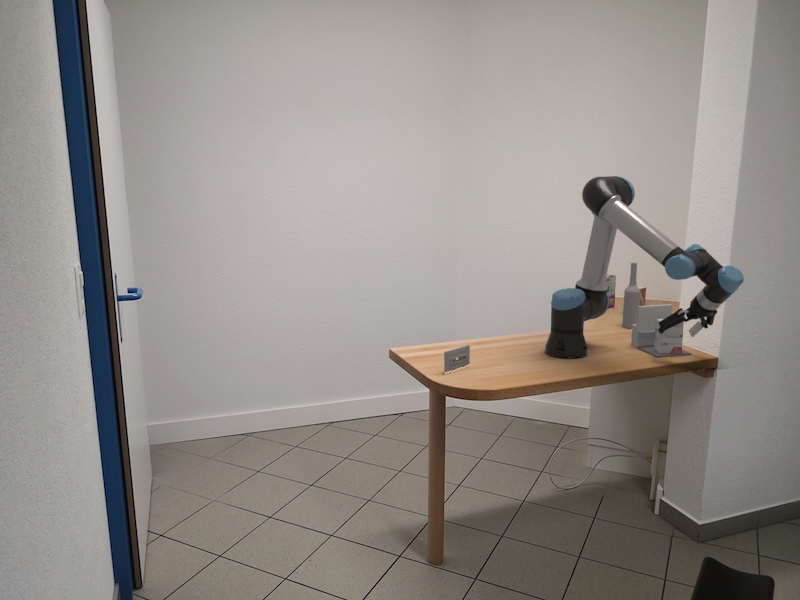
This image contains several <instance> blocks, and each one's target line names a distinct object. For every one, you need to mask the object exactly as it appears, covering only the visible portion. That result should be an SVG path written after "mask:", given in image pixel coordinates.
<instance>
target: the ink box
mask: <svg viewBox="0 0 800 600" xmlns="http://www.w3.org/2000/svg"><path fill="white" fill-rule="evenodd" d="M662 320H663V319H656V323H655V333H656V332H657V331H658V329H659V328H660V325H659V322H660V321H662ZM684 324H685V322H682V323H680V324H678V325H675V326H673V327H671V328H669V331H668V332H667V333H666V334H665V335H664V336H663V337H662V338H661V339H660V340H658V338H657V336H656V334H655V341H654V350H655V351H657V352H658V353H682V349H683V337H684Z"/></svg>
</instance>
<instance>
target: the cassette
mask: <svg viewBox="0 0 800 600" xmlns="http://www.w3.org/2000/svg"><path fill="white" fill-rule="evenodd" d="M470 348H471V347H470V345H468V344H467V345H463V346H461V347H457V348H453V349H449V350H446V351H444V353H443V355H444V356H443V358H444V359H443V360H444V364H443V365H444V368H443V370H444V371H445V372H447V371H450V370H451V371H452V370H455V369H457V368H460V367H464V366H466V365H468V364H470V362H471V361H470V358H471V357H470V355H471V354H470V352H471V350H470ZM457 358H458V359H457Z"/></svg>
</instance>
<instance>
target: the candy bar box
mask: <svg viewBox="0 0 800 600" xmlns="http://www.w3.org/2000/svg"><path fill="white" fill-rule="evenodd" d="M616 277H617V276H616V275H615V274H610V273H609V274H608V273H607V275H606V279H605V285H606V286H607V287H608V290H607V295H608V296H609V300H610V303H609V307H608V309H612V308H615V306H616V305H615V303H616V280H617V279H616ZM611 307H612V308H611Z"/></svg>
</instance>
